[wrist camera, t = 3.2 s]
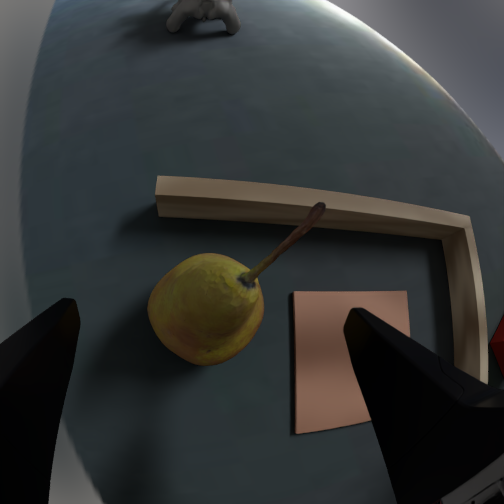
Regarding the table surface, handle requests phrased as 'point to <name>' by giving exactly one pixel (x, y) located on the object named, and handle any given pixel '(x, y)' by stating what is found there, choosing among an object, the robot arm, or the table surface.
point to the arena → (339, 303)
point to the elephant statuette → (204, 13)
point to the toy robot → (499, 345)
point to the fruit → (214, 302)
